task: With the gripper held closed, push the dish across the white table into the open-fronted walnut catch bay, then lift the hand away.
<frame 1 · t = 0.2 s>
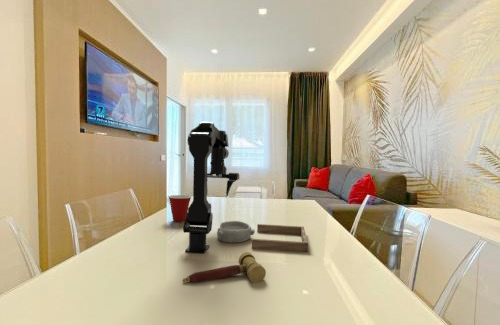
hand: (216, 195, 118), 14 cm above the table, tool pointing down, fingers open, 9 cm apart
dish: (234, 238, 105), on the table
plastic cup: (179, 220, 128), on the table
catch bay: (278, 240, 103), on the table
gavel: (222, 279, 72), on the table
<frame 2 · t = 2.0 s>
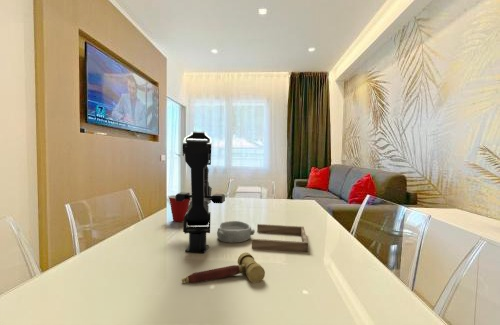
hand: (200, 219, 107), 6 cm above the table, tool pointing down, fingers closed
nothing on the table moved.
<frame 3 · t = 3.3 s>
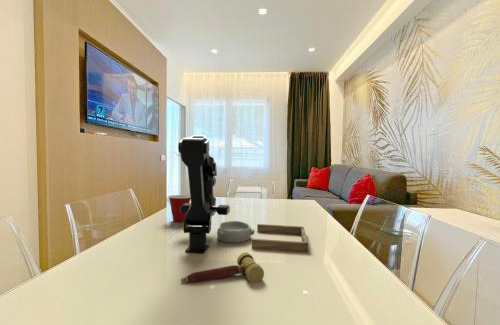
hand: (204, 230, 107), 2 cm above the table, tool pointing down, fingers closed
nothing on the table moved.
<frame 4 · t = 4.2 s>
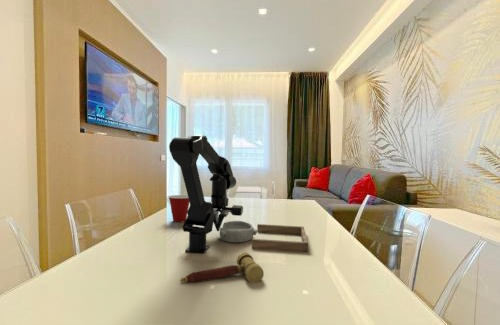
hand: (218, 230, 106), 2 cm above the table, tool pointing down, fingers closed
dish: (237, 238, 105), on the table, touching gripper
everything else where it was.
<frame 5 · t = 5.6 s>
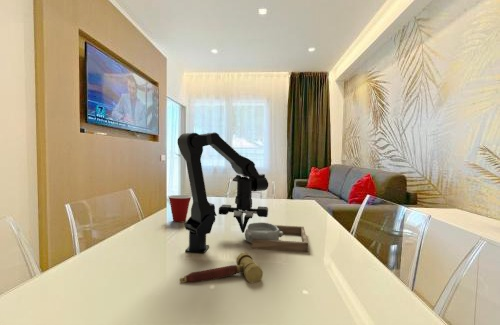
hand: (243, 232, 105), 2 cm above the table, tool pointing down, fingers closed
dish: (262, 240, 104), on the table, touching gripper
everything else where it was.
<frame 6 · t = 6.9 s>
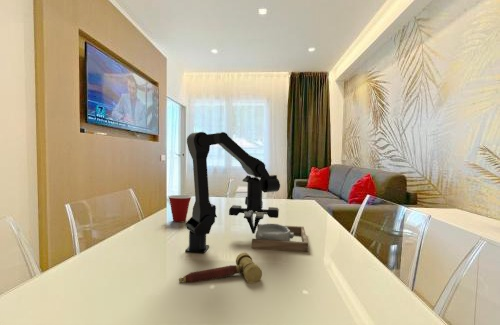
hand: (253, 233, 104), 2 cm above the table, tool pointing down, fingers closed
dish: (273, 241, 103), on the table
everything else where it was.
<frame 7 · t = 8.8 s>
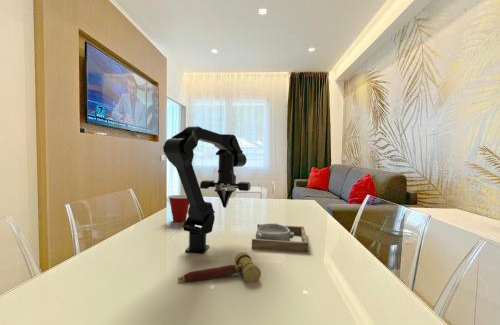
hand: (224, 207, 104), 12 cm above the table, tool pointing down, fingers closed
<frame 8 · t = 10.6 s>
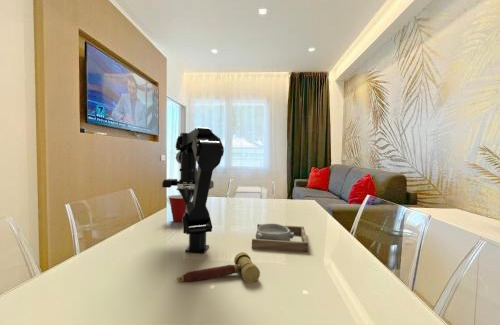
hand: (187, 206, 104), 12 cm above the table, tool pointing down, fingers closed
at the end: dish inside the target area on the catch bay (3.9 cm from its centre), point 0.0 cm above the catch bay's base; the gripper is holding nothing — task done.
